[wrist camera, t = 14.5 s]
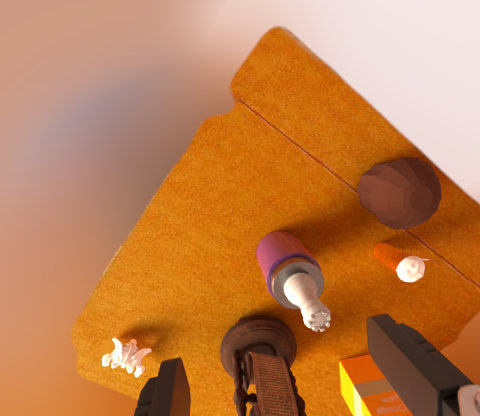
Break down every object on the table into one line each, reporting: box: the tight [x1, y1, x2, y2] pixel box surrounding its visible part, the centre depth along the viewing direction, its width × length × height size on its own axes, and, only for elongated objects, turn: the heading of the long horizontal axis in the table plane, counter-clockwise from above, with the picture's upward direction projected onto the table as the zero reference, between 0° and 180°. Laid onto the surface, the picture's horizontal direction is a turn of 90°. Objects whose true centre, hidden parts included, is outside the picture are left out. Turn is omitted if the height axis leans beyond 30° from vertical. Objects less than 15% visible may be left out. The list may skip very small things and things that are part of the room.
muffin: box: [357, 158, 441, 229], centre depth 44 cm, size 12×11×10 cm
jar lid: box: [270, 256, 324, 309], centre depth 39 cm, size 8×8×2 cm
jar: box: [256, 231, 321, 299], centre depth 44 cm, size 8×8×12 cm
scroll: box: [220, 316, 307, 416], centre depth 44 cm, size 15×15×20 cm
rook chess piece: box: [284, 273, 331, 332], centre depth 34 cm, size 4×4×8 cm
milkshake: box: [373, 242, 434, 282], centre depth 47 cm, size 4×5×10 cm
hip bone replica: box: [102, 337, 152, 377], centre depth 50 cm, size 8×4×7 cm
